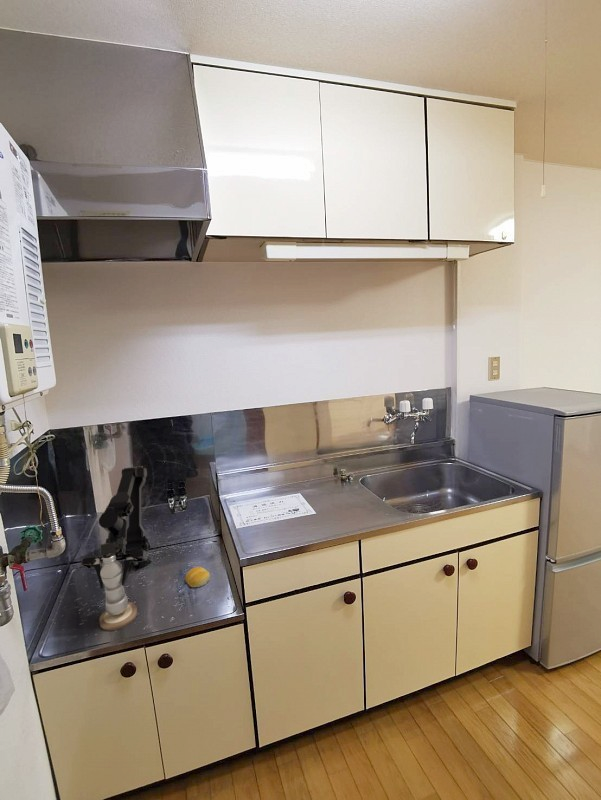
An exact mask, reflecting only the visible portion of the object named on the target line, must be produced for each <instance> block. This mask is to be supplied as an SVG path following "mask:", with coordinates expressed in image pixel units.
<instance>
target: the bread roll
mask: <svg viewBox="0 0 601 800" xmlns="http://www.w3.org/2000/svg"><path fill="white" fill-rule="evenodd" d="M210 576H211V574H210V572H209V571H207V570H206V569H205V568H204V567H201V566H195V567H193V568H191V569H190V570H188V572H186V574H185V576H184V580H185V583H186V584H188V586H189V587H191V588H199V587H200V588H201V587H203V586H205V585H206V584H207V583H208V582H209V581H210V578H211V577H210Z"/></svg>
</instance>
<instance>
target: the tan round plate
mask: <svg viewBox="0 0 601 800" xmlns="http://www.w3.org/2000/svg"><path fill="white" fill-rule="evenodd" d="M137 614H138V607H137V605H135V603H133V602H129V601H128V605H127V608H126V610H125V611H124V612H122V613H121V614H119V615H116V616H112V615H110V614H108V613H107V611H106V610H105V611H103V612H102V613H101V615H100V616H99V620H98V621H99V626H100V628H101V629H102V630H104V631H115V630H119V629H122V628H125V627H126V626H128V625H129V624H131V623H132V622H133V621H134V620H135V619H136V617H137Z"/></svg>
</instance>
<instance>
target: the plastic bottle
mask: <svg viewBox="0 0 601 800" xmlns="http://www.w3.org/2000/svg"><path fill="white" fill-rule="evenodd" d="M101 557H102V558H103V563H104V564H103V566H102V568H101V571H100V575H101V578H102V581H103V584H104V588H103V589H104V591H105V592H104V593H105V611H107V613H108V614H110V615H112V616H116V615H119V614H121V613H122V612H124V611H125V610H126V608H127V605H128V602H129V600H128V597H127V595H126V591H125V588H124V586H122V577H123V571H124V568H123V565H122V563H121V561H117V560H116V556H115V553H114V554H111V553H109V554H105V555H102V556H101Z"/></svg>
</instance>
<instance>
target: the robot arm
mask: <svg viewBox="0 0 601 800" xmlns="http://www.w3.org/2000/svg"><path fill="white" fill-rule="evenodd" d="M143 467H144V466H143V465H141V466H132V467H131V466H130V467H124V468H122V469H121V478H120V481H119V484H118V488H117V492H116V494H115V495H113V496H112V497H111V498H110V500H109V503H108V505H107V506H106V508H105V510H104V512H103V513H102V514H101V515H100V517H99V518H98V524H99V526H100V527H101V528H102V529H103V530H105V531H106V532H107V538H106V539H105V542H104V543H102V544H100V545H99V548H100V549H99V552H100V553H99V554H100V556H101V557H99V556H98V555H96V554H91V555H86V556H85V555H84V556H83V558H82V559H81V564H80V566H81V567H83V568H85V569H86V570H89V569H91V570H92V569H93V570H94V571H95V572H96V574H97V579H98V582H99V586H100V589H101V590H103V589H105V588H104V584H103V581H102V578H101V575H100V571H101V568H102V566H103V564H104V563H103V558H102V557H103V555H105V554H109V553H111V554H114V553H115V556H116V560H117V561H119V562H121V561H123V572H122V586H123V587H124V586H125V584H126V583H127V580H128V578H129V576H130V574H131V572H132V570H135V571H137V570H139V569H141V568H143V567H146V566H147V565H149V564H151V563H152V560H151V559H149V558H148V553H147V552H148V551H149V549H151V548H152V547H151V541H150V538H149V537H148V536H147V531H146V530H145V529H144V527H143V525H142V489H143V487H144V485H145V484H146V481H147V479H146V478H147V477H148V470H147V468H145V467H144V468H143ZM123 517H128V521H127V520H126V519H125V518H123Z"/></svg>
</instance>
